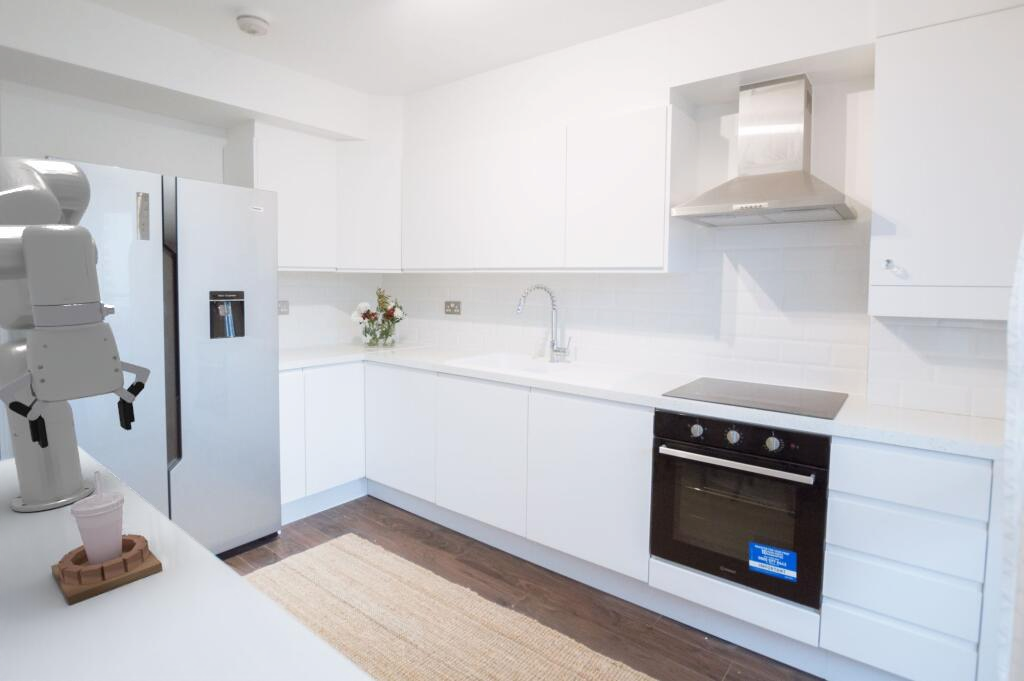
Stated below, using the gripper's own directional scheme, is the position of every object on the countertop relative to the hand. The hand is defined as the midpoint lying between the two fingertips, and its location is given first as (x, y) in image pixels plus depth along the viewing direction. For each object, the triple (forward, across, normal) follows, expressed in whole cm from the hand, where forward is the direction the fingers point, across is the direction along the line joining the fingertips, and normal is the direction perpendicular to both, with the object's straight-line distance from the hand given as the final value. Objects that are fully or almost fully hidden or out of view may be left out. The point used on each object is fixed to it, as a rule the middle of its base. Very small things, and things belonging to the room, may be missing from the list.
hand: (86, 436), depth 81 cm
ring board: (+20, 0, +1) cm, 21 cm away
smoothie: (+20, 0, +1) cm, 20 cm away
